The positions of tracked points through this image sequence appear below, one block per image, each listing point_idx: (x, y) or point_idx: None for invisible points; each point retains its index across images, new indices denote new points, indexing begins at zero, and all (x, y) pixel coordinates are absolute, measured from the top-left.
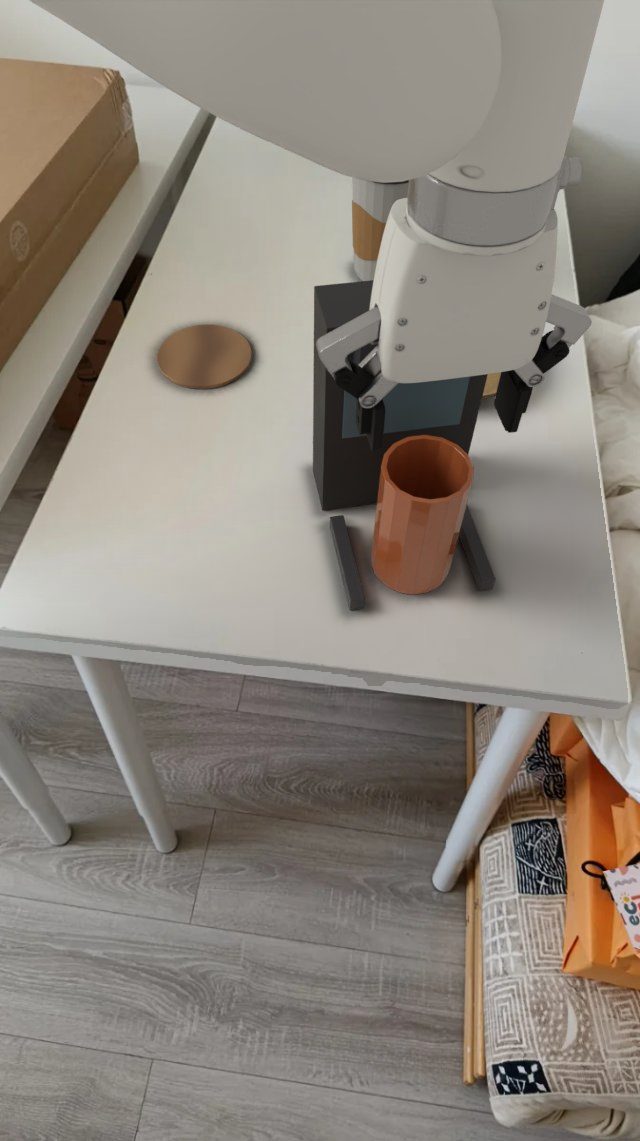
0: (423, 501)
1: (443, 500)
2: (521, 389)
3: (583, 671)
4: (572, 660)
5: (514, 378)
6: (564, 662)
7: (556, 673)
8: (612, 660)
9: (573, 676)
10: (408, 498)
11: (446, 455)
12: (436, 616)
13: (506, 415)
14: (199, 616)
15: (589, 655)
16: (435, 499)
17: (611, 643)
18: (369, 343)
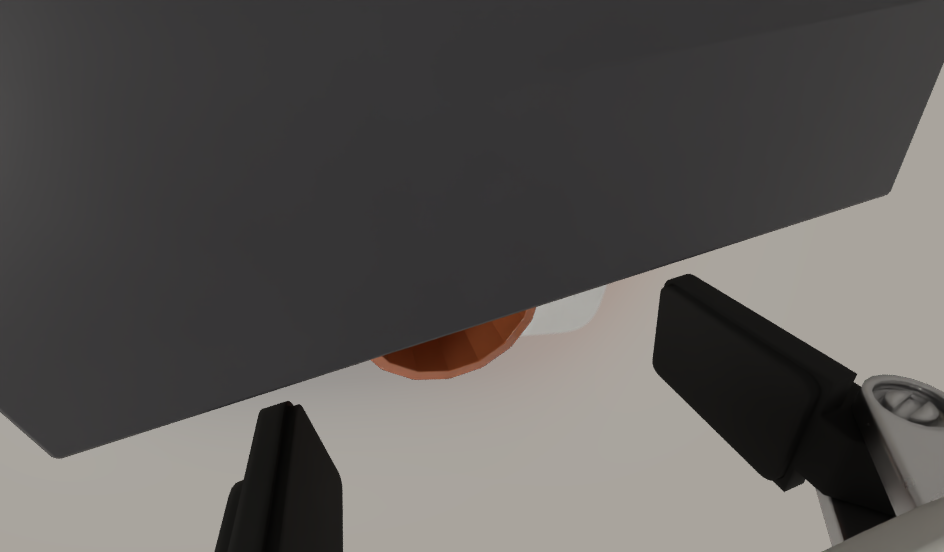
0: (435, 378)
1: (472, 368)
2: (788, 485)
3: (569, 314)
4: (563, 305)
5: (797, 443)
6: (555, 308)
7: (545, 320)
8: (598, 299)
9: (559, 320)
10: (406, 376)
11: None
12: None
13: (681, 377)
14: None
15: (580, 297)
16: (458, 370)
17: None
18: (145, 430)
